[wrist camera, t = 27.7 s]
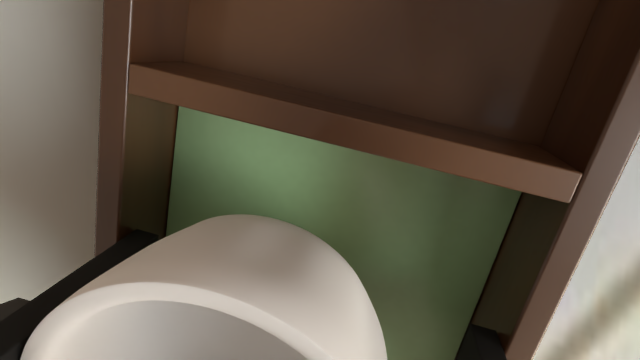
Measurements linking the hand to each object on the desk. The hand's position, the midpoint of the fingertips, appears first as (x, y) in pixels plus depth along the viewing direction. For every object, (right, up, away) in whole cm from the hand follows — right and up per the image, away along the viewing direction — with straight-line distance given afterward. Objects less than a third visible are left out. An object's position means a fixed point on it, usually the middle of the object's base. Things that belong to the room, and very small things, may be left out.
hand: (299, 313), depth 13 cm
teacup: (0, 0, 0) cm, 0 cm away
